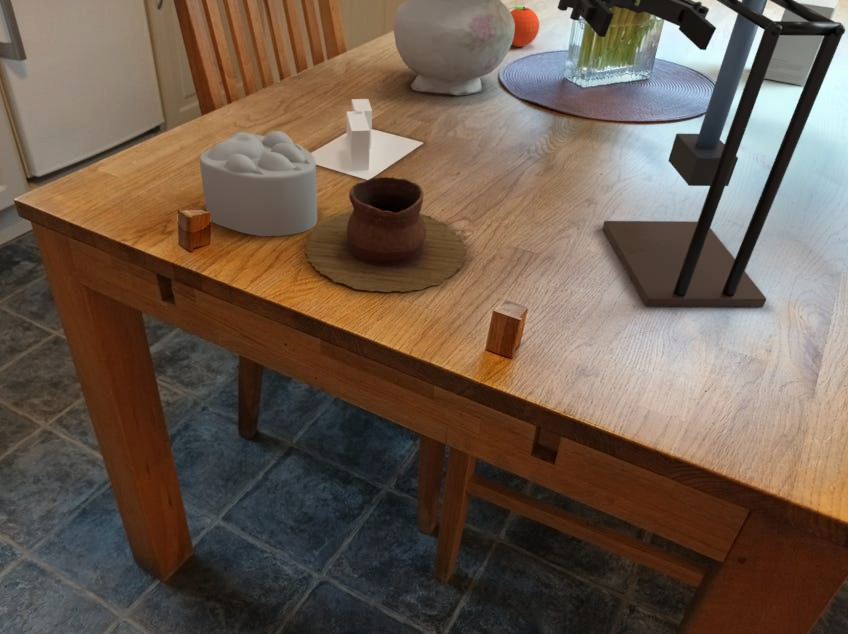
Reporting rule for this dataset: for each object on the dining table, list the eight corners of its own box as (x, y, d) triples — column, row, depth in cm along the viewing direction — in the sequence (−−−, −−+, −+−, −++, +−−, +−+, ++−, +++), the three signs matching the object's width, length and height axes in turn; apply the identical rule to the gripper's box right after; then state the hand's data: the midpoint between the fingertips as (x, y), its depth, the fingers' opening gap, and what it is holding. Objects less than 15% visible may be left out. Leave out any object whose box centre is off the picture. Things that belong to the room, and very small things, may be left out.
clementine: (489, 45, 141) (493, 5, 136) (507, 37, 145) (513, -1, 140) (524, 53, 137) (530, 13, 132) (542, 45, 141) (549, 6, 136)
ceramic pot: (396, 315, 70) (400, 252, 66) (271, 251, 79) (266, 192, 74) (497, 245, 81) (505, 188, 76) (376, 196, 89) (378, 142, 85)
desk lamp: (600, 224, 85) (662, -25, 68) (699, 225, 85) (786, -23, 69) (645, 306, 72) (737, 24, 55) (763, 306, 72) (889, 26, 56)
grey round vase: (426, 63, 134) (426, -93, 119) (528, 71, 127) (542, -94, 112) (377, 100, 119) (369, -74, 104) (490, 111, 112) (499, -74, 97)
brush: (641, 160, 76) (695, -33, 64) (731, 161, 76) (800, -32, 65) (661, 185, 71) (722, -18, 60) (755, 186, 72) (835, -16, 60)
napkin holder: (369, 180, 93) (370, 137, 89) (298, 160, 97) (296, 118, 94) (424, 142, 103) (427, 102, 99) (357, 125, 107) (358, 86, 104)
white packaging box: (803, 86, 125) (835, 8, 117) (758, 78, 128) (786, 1, 120) (810, 75, 130) (840, -1, 122) (766, 67, 133) (793, -8, 125)
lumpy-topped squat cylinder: (247, 184, 91) (240, 117, 86) (335, 208, 87) (335, 139, 81) (195, 218, 84) (185, 147, 79) (289, 246, 80) (285, 173, 74)
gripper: (666, 12, 106) (733, 73, 92) (508, -10, 102) (551, 51, 87) (690, -43, 101) (765, 12, 86) (524, -69, 96) (573, -15, 82)
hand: (658, 32), depth 87 cm, fingers open, 13 cm apart
